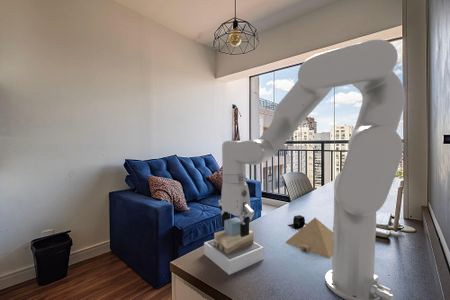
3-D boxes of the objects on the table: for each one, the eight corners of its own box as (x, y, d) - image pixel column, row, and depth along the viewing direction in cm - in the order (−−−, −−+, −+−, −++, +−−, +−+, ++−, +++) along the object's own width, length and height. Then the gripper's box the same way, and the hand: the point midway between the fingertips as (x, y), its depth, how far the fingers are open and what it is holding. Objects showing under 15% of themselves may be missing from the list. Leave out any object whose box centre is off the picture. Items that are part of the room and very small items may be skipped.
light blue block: (243, 232, 72) (243, 220, 72) (231, 236, 69) (231, 224, 69) (236, 228, 75) (236, 217, 75) (224, 232, 72) (224, 220, 72)
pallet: (253, 243, 73) (253, 231, 73) (226, 253, 67) (226, 240, 66) (240, 236, 78) (240, 225, 78) (214, 244, 72) (214, 232, 72)
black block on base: (294, 232, 93) (294, 221, 93) (282, 225, 100) (282, 216, 100) (315, 226, 99) (315, 217, 99) (302, 221, 106) (302, 212, 105)
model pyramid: (282, 244, 82) (283, 218, 82) (302, 230, 95) (302, 207, 95) (329, 261, 71) (330, 230, 71) (344, 242, 84) (345, 216, 83)
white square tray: (263, 259, 71) (263, 246, 71) (229, 274, 63) (229, 260, 63) (236, 242, 83) (236, 231, 82) (204, 254, 74) (204, 241, 74)
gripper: (261, 181, 67) (262, 236, 67) (227, 174, 81) (228, 220, 81) (242, 184, 62) (243, 243, 63) (210, 176, 76) (211, 225, 77)
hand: (234, 230), depth 72 cm, fingers open, 9 cm apart
